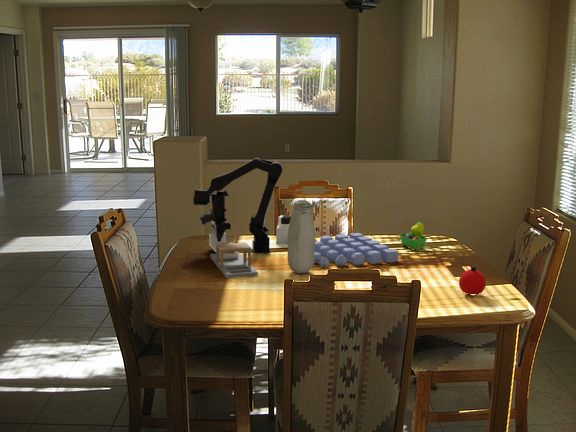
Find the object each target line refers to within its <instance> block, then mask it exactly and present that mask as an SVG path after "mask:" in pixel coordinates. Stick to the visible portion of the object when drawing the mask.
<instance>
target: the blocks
mask: <svg viewBox="0 0 576 432" xmlns="http://www.w3.org/2000/svg"><path fill="white" fill-rule="evenodd" d="M365 260H366V261H365ZM383 260H384V261H383ZM348 261H350V263H351V264H352V265H354V266H363V265H364V264H365V262H367V263H368V262H369V263H368V264H370V263H371V264H370V265H376V264H375V263H379V264H381V263H382V261H383V262H385V261H386V262H385V263H387V262H390V263H396V262H395V261H399V251H398V250H396V249H394V248H389V246H387V245H386V244H382V243H380V242H379V241H377V240H373V238H371V237H369V236H365V234H362V233H360V232H355V233H354V232H353V233H352V232H351V233H349V236H348V235H346V234H343V233H342V234H336V235H335V236H334V238H333V237H331V236H329V235H323V236H321V237H320V238H319V241H317V239H316V238H315V247H314V263H313V264H315V263H316V264H319V265H320V266H321V267H322V268H326V267H327V266H328V265H329V264H330V262H332V263H333V262H334V263H335V264H336V265H337V266H338V267H344V266H345V265H346V264H347V263H348Z"/></svg>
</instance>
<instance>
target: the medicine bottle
mask: <svg viewBox="0 0 576 432" xmlns="http://www.w3.org/2000/svg"><path fill="white" fill-rule="evenodd" d="M277 219H278V221H277V222H278V223H277V226H276V228H275V229H276V230H275V231H276V232H275V235H276V236H275V237H276V238H275V239H276V240H275V241H276V244H287V245H288V228H289V224H290V220H291V215H289V214H284V215H283V214H282V215H280V216H278V218H277Z"/></svg>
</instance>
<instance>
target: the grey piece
mask: <svg viewBox="0 0 576 432" xmlns="http://www.w3.org/2000/svg"><path fill="white" fill-rule="evenodd" d="M232 243H233V244H218V245H216V252H215V253H210V256H209V257H210V259H211V260H212V262H213V263H214V264H215V266H216V267H217V268H218V270H219V271H220V273H222V275H223V276H224V277H225V279H238V278H248V277H259V271H257V269H256V268H255V267H254V266H253V264H252V246H250V245H249V244H248V243H247V242H237V243H234V242H232ZM219 251H220V257H219ZM230 251H235V252H236V253H238V256H239V258H232V259H223V252H230ZM242 251H243V255H242V254H241V253H240V252H242Z"/></svg>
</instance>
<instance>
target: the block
mask: <svg viewBox="0 0 576 432" xmlns="http://www.w3.org/2000/svg"><path fill="white" fill-rule="evenodd" d="M233 243H234V242H232V241H231V242H226V243H220V244H233ZM235 252H236V251H230V252H223V254H225V253H235Z"/></svg>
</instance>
